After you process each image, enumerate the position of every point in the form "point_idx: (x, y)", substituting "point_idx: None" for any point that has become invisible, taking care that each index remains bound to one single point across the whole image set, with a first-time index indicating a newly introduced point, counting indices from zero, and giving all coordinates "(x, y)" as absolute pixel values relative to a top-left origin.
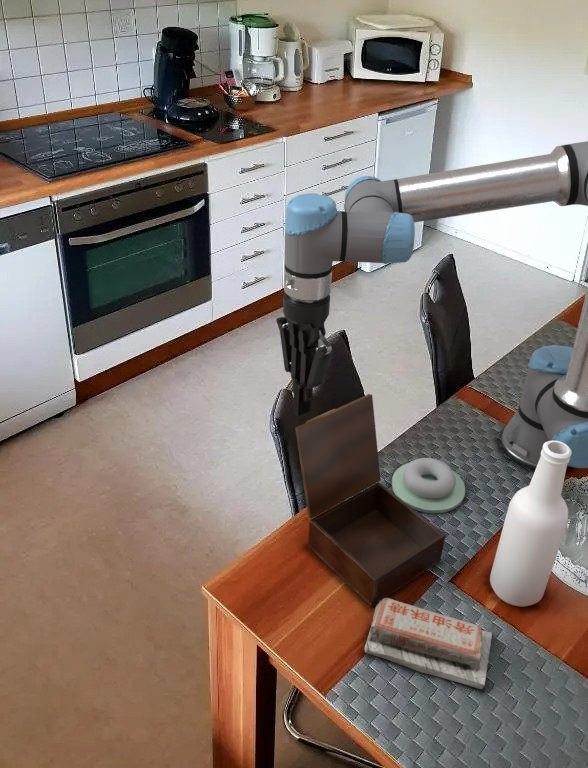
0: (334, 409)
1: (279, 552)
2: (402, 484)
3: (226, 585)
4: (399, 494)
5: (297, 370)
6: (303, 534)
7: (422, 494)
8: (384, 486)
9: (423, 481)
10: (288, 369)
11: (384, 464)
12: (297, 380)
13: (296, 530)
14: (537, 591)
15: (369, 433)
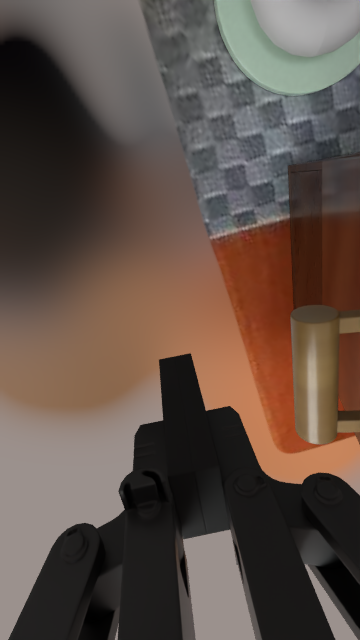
0: (320, 329)
1: (278, 366)
2: (273, 55)
3: (287, 440)
4: (294, 88)
5: (189, 611)
6: (267, 321)
7: (350, 39)
8: (344, 157)
9: (350, 10)
10: (119, 608)
11: (179, 43)
12: (181, 525)
13: (254, 327)
14: None
15: None
